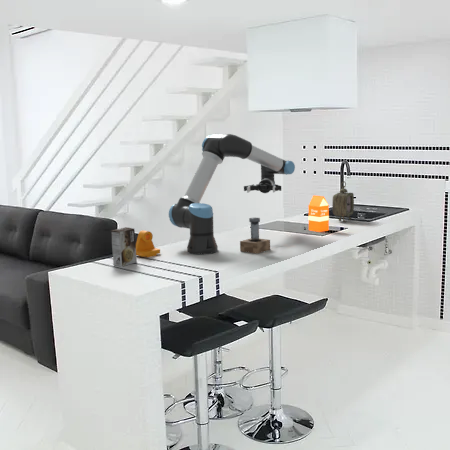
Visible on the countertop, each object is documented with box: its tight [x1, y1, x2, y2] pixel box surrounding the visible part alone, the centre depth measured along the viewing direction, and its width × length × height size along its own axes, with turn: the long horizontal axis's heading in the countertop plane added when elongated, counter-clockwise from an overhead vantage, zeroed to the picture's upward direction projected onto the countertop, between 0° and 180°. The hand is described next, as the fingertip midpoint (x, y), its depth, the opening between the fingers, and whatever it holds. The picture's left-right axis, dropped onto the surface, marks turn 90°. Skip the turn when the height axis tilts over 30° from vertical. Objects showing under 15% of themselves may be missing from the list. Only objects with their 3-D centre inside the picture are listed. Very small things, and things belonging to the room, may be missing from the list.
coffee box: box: [110, 227, 138, 267], centre depth 266 cm, size 9×6×16 cm
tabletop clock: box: [332, 180, 355, 223], centre depth 364 cm, size 14×9×25 cm, turn 148°
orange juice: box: [307, 194, 330, 233], centre depth 335 cm, size 8×9×20 cm
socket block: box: [239, 237, 271, 255], centre depth 286 cm, size 10×10×5 cm
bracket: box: [135, 229, 161, 258], centre depth 283 cm, size 11×7×12 cm, turn 132°
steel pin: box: [248, 217, 261, 242], centre depth 285 cm, size 5×5×16 cm
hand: (260, 189), depth 304 cm, fingers open, 13 cm apart
